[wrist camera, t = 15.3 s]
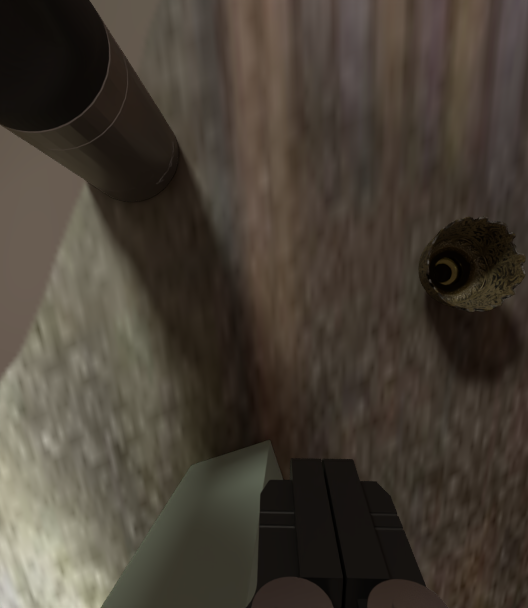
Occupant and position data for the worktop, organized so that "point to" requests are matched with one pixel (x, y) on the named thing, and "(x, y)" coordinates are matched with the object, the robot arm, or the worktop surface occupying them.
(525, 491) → the worktop surface
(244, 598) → the block
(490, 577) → the worktop surface
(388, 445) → the worktop surface
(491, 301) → the cup
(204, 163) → the worktop surface
